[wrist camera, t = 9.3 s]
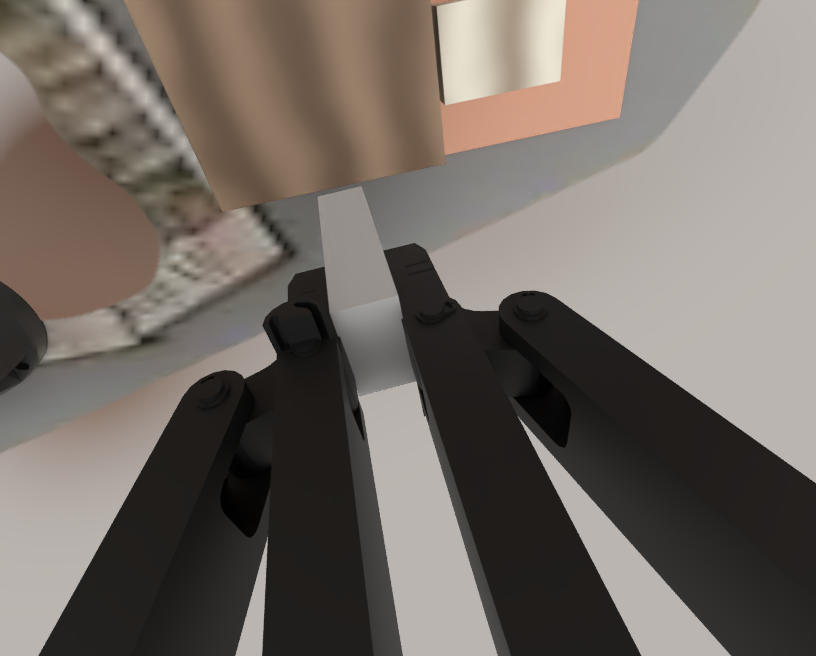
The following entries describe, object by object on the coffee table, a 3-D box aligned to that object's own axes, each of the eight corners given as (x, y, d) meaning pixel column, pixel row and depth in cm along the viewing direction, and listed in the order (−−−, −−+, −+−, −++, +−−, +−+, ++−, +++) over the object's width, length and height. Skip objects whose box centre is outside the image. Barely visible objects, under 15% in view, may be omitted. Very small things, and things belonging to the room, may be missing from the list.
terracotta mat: (441, 153, 37) (442, 155, 36) (418, -83, 27) (419, -84, 27) (615, 115, 37) (619, 117, 37) (654, -129, 28) (659, -131, 27)
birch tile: (437, 98, 34) (445, 105, 32) (428, 5, 30) (436, 6, 28) (546, 75, 34) (560, 80, 32) (551, -21, 30) (567, -21, 28)
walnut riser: (230, 192, 36) (222, 211, 33) (138, -17, 27) (115, -17, 24) (435, 148, 37) (445, 163, 33) (411, -71, 28) (423, -78, 24)
